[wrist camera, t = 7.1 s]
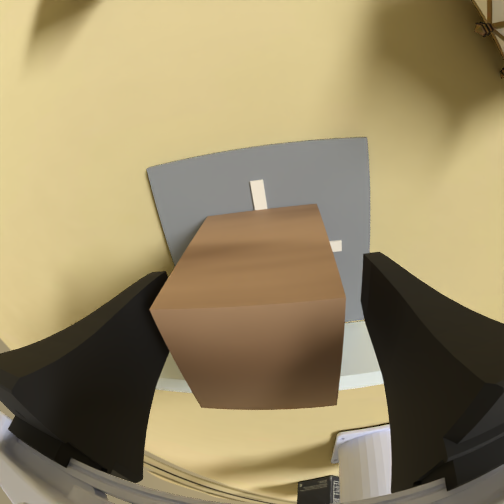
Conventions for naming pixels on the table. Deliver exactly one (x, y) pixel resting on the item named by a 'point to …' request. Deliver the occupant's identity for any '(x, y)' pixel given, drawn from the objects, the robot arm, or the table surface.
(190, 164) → the pad
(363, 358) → the frosted wall
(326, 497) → the small box
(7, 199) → the table surface
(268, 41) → the table surface
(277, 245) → the walnut block
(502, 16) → the game die
